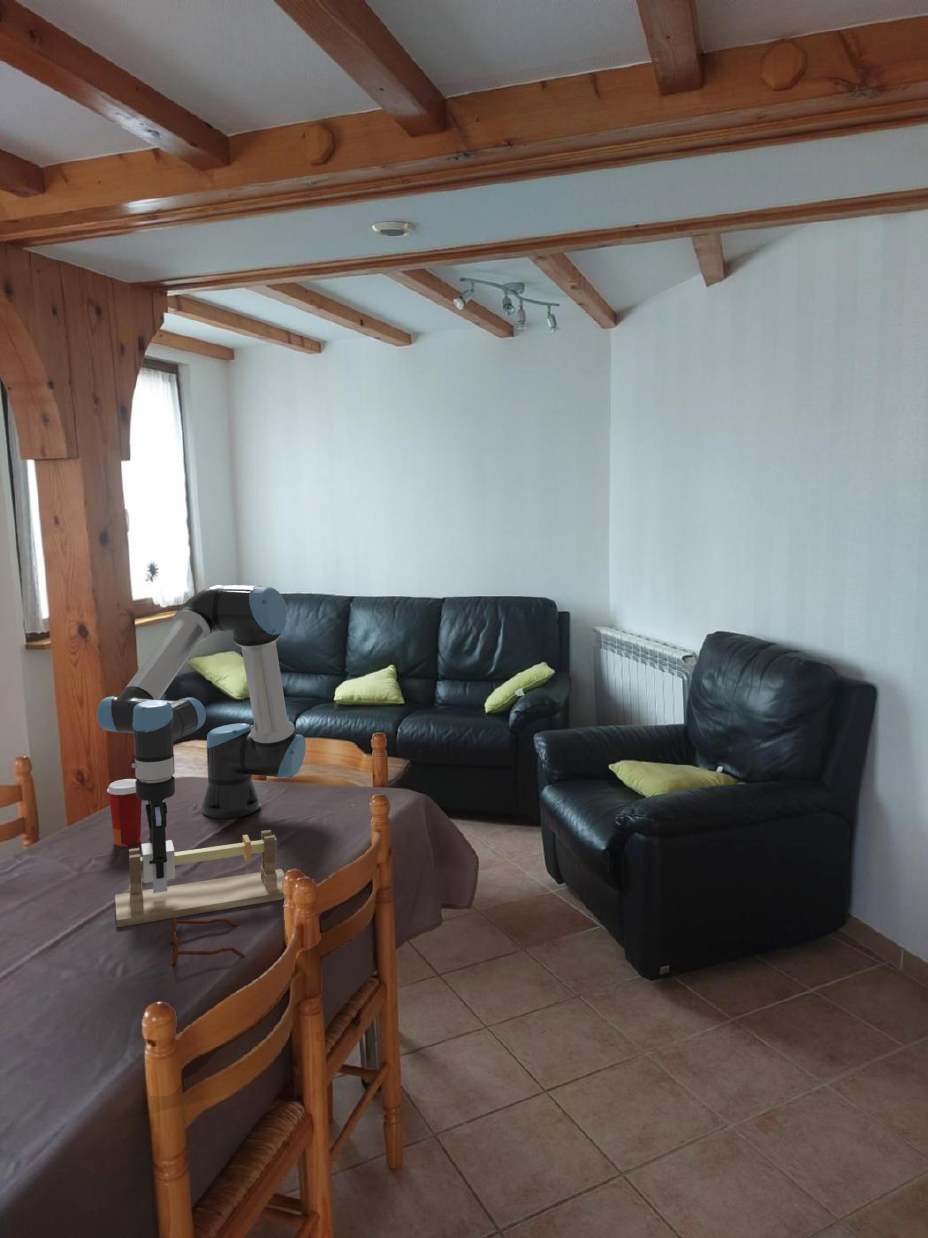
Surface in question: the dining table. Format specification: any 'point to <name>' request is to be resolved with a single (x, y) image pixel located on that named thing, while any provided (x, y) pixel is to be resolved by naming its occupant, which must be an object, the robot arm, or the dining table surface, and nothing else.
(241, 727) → the robot arm
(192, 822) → the dining table surface
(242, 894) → the wooden rod stand
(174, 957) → the glasses
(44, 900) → the dining table surface
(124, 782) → the coffee cup
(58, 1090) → the dining table surface
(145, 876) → the sleeve
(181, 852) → the pale yellow long bar
